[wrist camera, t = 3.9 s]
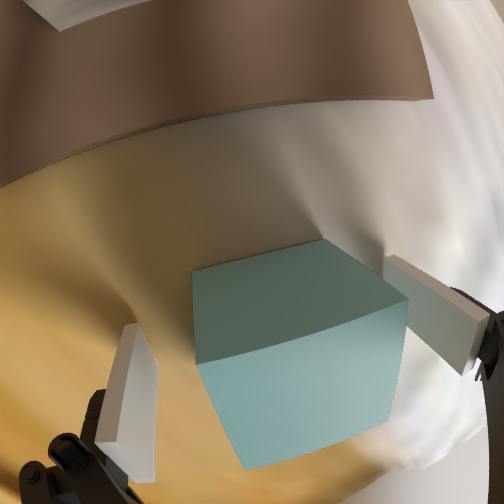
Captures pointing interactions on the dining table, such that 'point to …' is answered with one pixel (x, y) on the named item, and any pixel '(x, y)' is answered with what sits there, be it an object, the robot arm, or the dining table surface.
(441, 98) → the dining table surface
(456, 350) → the robot arm
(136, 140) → the dining table surface
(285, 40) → the base
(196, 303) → the cube
